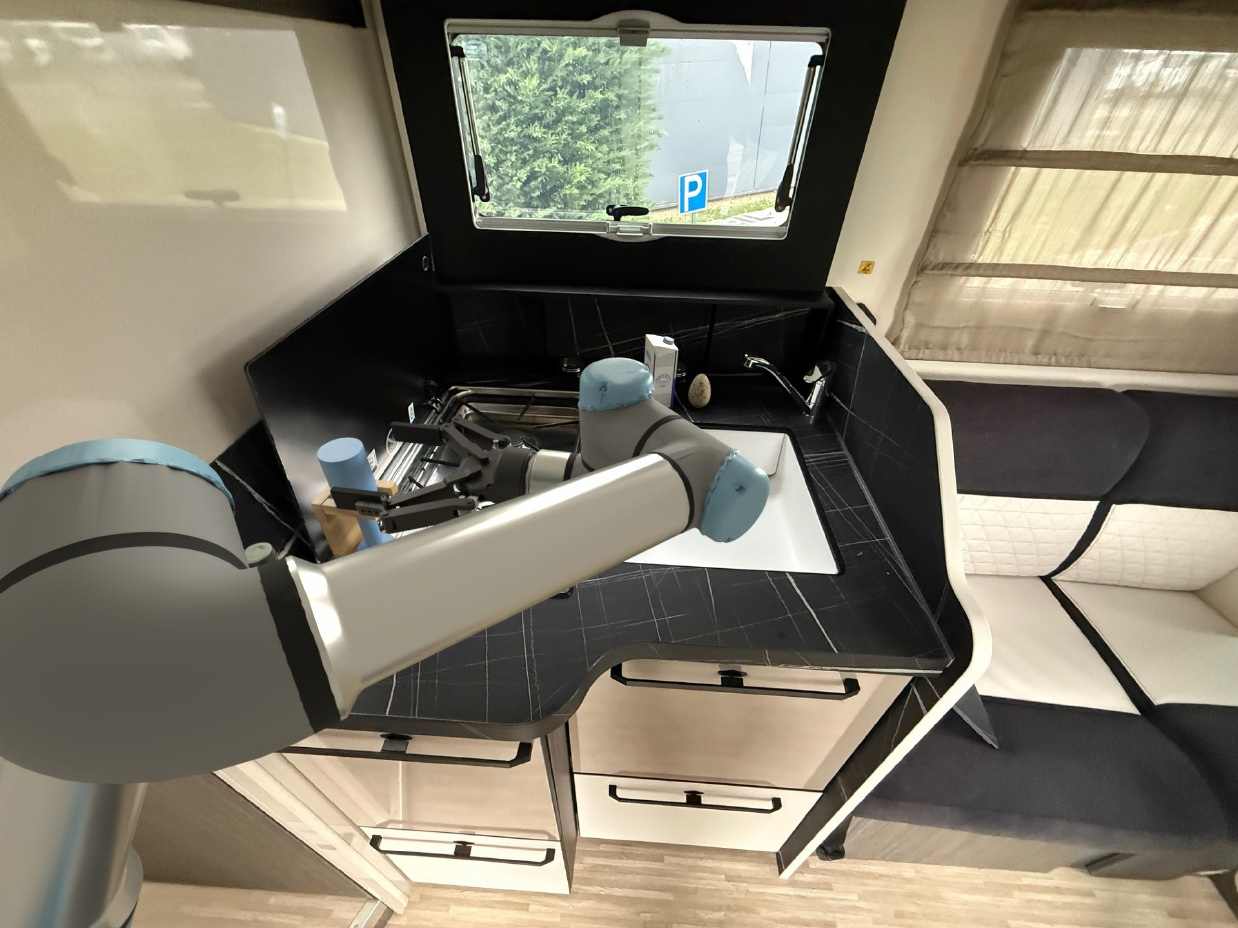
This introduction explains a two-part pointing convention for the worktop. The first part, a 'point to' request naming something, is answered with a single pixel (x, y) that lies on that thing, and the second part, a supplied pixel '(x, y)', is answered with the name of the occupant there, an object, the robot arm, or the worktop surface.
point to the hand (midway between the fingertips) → (366, 461)
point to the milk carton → (662, 367)
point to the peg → (352, 480)
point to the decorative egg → (699, 391)
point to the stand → (344, 520)
